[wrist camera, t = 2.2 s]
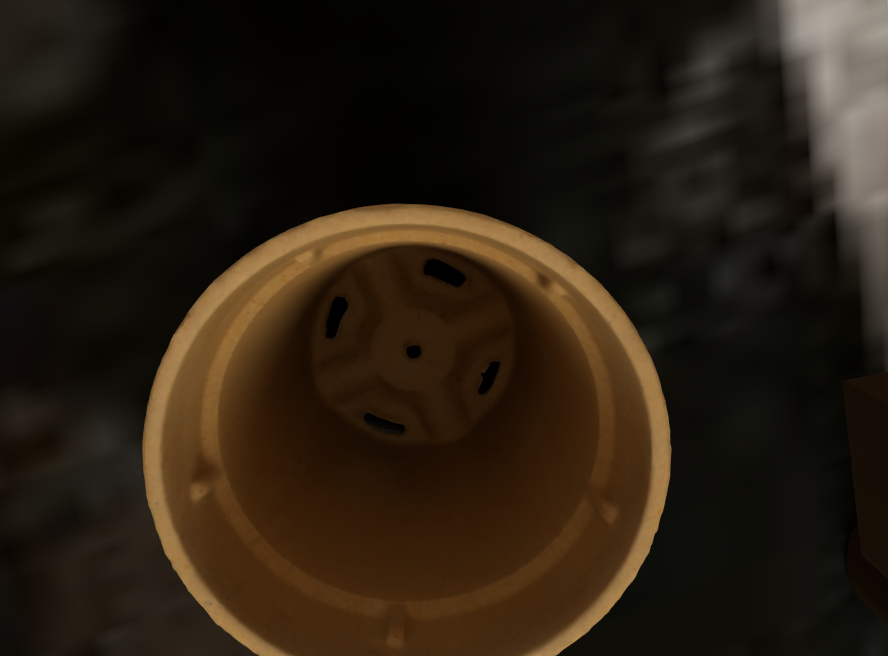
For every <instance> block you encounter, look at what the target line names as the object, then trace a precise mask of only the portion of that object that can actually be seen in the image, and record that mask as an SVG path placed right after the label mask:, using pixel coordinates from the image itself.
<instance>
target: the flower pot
mask: <svg viewBox="0 0 888 656" xmlns="http://www.w3.org/2000/svg"><path fill="white" fill-rule="evenodd" d="M432 259H437V260H440V261H442V262H444V263H446V264H448V265H449V266H451V267H452V268H453V269H455V270H458V271H460V272H461V273H462V274H463V275H464V276H465V277H466V280H465V281H464V282H463V284H462V285H461V286H459V287H456V286H453V285H451V284H449V283H447V282H444V281H442V280H440V279H438V278H436V277H434V276H430V275H425V273H424V266H425V263H426V262H427V261H428V260H432ZM337 296H338V297H345V299H346V301H347V302H348V308H347V310H346V312H345V313H344V315H343V316H342V318H341V320H340V323H339V327H338V330H337V334H336V336H335V337H334V338H328V337H326V334H327V320H328V316H329V312H330V309H331V306H332V302H333V300H334V299H335V297H337ZM413 345H417V346H419V347H420V349H421V354H420V356H418V357H417V358H410V357H408V355H407V352H406V349H407V347H409V346H413ZM493 361H497V362H499V363H500V364H499V366H498V371H497V374H496V376H495V378H494V381H493V384H492V385H491V387H490V389H489V390H488V391H487V392H485V393H483V394H479V393H478V389H479V388H480V385H481V383H482V380H483V377H482V376H481V373H482V372H483V374H484V373H485V371H487V370H488V367H489V366H490V362H493ZM366 413H370V414H372V415H375V416H377V417H380V418H383V419H385V420H388V421H390V422H393V423H397V424H402V425H404V426H405V431H404V432H403V433H401V434H400V433H392V434H390V433H385V432H383V431H381V430H376V429H375V428H373V427H371V426H370V425H369V424H368V423H367V422H366V421H365V419H364V415H365V414H366ZM670 461H671V445H670V428H669V420H668V413H667V409H666V402H665V399H664V396H663V394H662V389H661V385H660V381H659V378H658V374H657V372H656V369H655V366H654V364H653V361H652V359H651V357H650V355H649V353H648V351H647V349H646V347H645V345H644V343H643V342H642V340H641V338H640V336H639V334H638V332H637V330H636V328H635V327H634V325H633V324H632V322H631V321H630V319H629V318H628V316H627V315H626V314H625V312H624V311H623V309H622V308H621V307H620V306H619V305H618V303H617V302H616V301H615V300H614V299H613V297H612V296H611V295H610V294H609V293H608V291H607V290H606V289H605V288H604V287H603V286H602V285H601V284H600V283H599V282H598V281H597V280H596V279H595V278H594V277H593V276H591V275H590V274H589V273H588V272H587V271H586V270H584V269H583V268H582V267H581V266H580V265H578V264H577V263H576V262H575V261H574V260H572V259H571V258H570V257H568V256H567V255H566V254H564V253H562V252H561V251H559V250H558V249H556V248H555V247H553V246H552V245H550V244H549V243H547V242H545V241H543V240H541V239H540V238H538V237H536V236H534V235H532V234H530V233H528V232H526V231H524V230H522V229H520V228H517V227H515V226H513V225H511V224H508V223H506V222H503V221H500V220H497V219H494V218H492V217H489V216H486V215H483V214H479V213H474V212H470V211H466V210H462V209H455V208H449V207H442V206H433V205H421V204H385V205H374V206H366V207H360V208H355V209H350V210H346V211H342V212H338V213H335V214H331V215H327V216H324V217H320V218H317V219H314V220H312V221H309V222H306V223H304V224H301V225H299V226H297V227H295V228H292V229H289V230H287V231H286V232H284V233H281V234H279V235H277V236H275V237H274V238H272V239H270V240H268V241H266V242H265V243H263V244H261V245H260V246H258V247H256V248H255V249H253V250H252V251H250V252H249V253H248V254H246V255H245V256H243V257H242V258H241V259H239V260H238V261H237V262H236V263H234V264H233V265H232V266H231V267H230V268H229V269H227V270H226V271H225V272H224V273H223V274H222V275H220V276H219V277H218V278H217V279H215V280H214V282H213V283H212V284H211V285H210V286H209V287H208V288H207V289H206V290H205V292H204V293H203V294H202V295H201V296H200V297H199V299H198V300H197V301H196V303H195V304H194V305H193V307H192V308H191V309H190V310H189V312H188V313H187V315H186V317H185V319H184V320H183V322H182V323H181V325H180V326H179V328H178V329H177V331H176V332H175V334H174V336H173V337H172V339H171V341H170V344H169V347H168V349H167V351H166V353H165V355H164V356H163V358H162V361H161V364H160V366H159V368H158V370H157V373H156V377H155V380H154V383H153V386H152V390H151V394H150V399H149V402H148V406H147V414H146V419H145V425H144V433H143V472H144V476H145V485H146V495H147V499H148V505H149V507H150V509H151V513H152V516H153V519H154V522H155V527H156V531H157V532H158V534H159V537H160V540H161V542H162V545H163V548H164V551H165V554H166V555H167V557H168V558H169V560H170V561H171V563H172V566H173V568H174V569H175V570H176V572H177V573H178V575H179V577H180V578H181V580H182V581H183V583H184V584H185V585H186V587H187V589H188V591H189V592H190V593H191V594H192V595H193V596H194V598H195V599H196V600H197V601H198V602H199V604H200V605H201V606H202V607H203V608H204V609H205V610H206V611H207V613H208V614H209V615H210V616H211V618H212V619H213V620H214V622H215V623H216V624H217V625H219V626H221V627H222V628H223V629H224V630H225V631H226V632H228V633H230V634H231V635H232V636H233V637H234V638H235V639H236V640H238V641H239V642H240V643H242V644H243V645H245V646H246V647H248V648H249V649H250V650H251V651H252V652H254V653H256V654H258V655H260V656H556V655H557V654H558V653H560V652H561V651H562V650H563V649H564V648H566V647H568V646H569V645H570V644H572V643H573V642H575V641H576V640H577V639H579V638H580V637H581V636H583V635H584V634H585V633H587V632H588V631H589V630H590V629H591V627H592V626H593V625H595V624H596V623H597V622H598V621H599V620H601V619H602V618H603V616H604V615H605V614H606V613H608V612H609V610H610V608H611V607H612V606H613V605H614V604H615V602H616V601H617V600H619V598H620V597H621V595H622V594H623V592H624V591H625V589H626V588H627V587H628V585H629V584H630V583H631V582H632V581H633V580H634V578H635V577H636V574H637V572H638V570H639V568H640V566H641V564H642V563H643V562H644V559H645V558H646V556H647V555H648V553H649V550H650V546H651V545H652V543H653V537H654V534H655V533H656V531H657V530H658V524H659V520H660V517H661V514H662V512H663V508H664V504H665V499H666V494H667V489H668V484H669V479H670Z"/></svg>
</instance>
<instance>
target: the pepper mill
mask: <svg viewBox="0 0 888 656" xmlns="http://www.w3.org/2000/svg"><path fill="white" fill-rule="evenodd" d="M846 558H847V570H848V575H849V578H850V581H851V584H852V586H853V588H854V590H855V592H856V593H857V594H858V596H859V597H860V598H861V599H862V601H863V602H864V603H865V604H866V605H867V606H868V607H869V608H870V609H871V610H872V611H873V612H874V613H875V614H876V615H877V616H878V617H879V618H880V620H881V621H882V622H883V623H884V624H885V625H886V626H887V627H888V579H887V578H886V577H885V576H884V575H883V574H882V573H881V572H880V571H879V570H878V569H876V568H875V567H874V566H873V565H872V564H871V563H870V562H869V561H868V560H867V559H866V558H865V557H864V556H863V555H861V549H860V539H859V530H858V522H857V524H856V525H855V527H854V529H853V531H852V534H851V536H850V539H849V543H848V547H847V556H846Z"/></svg>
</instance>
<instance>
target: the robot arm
mask: <svg viewBox="0 0 888 656" xmlns="http://www.w3.org/2000/svg"><path fill="white" fill-rule="evenodd" d="M842 383H843V392H844V401H845V410H846V420H847V429H848V438H849V447H850V457H851V466H852V475H853V484H854V493H855V503H856V512H857V521H858V530H859V539H860V549H861V555H863V556H864V557H865V558H866V559H867V560H868V561H869V562H870V563H871V564H872V565H873V566H874V567H875V568H876V569H878V570H879V571H880V572H881V573H882V574H883V575H884V576H885V577H886V578H887V579H888V372H884V373H879V374H874V375H870V376H865V377H860V378H856V379H851V380H847V381H842Z"/></svg>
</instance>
